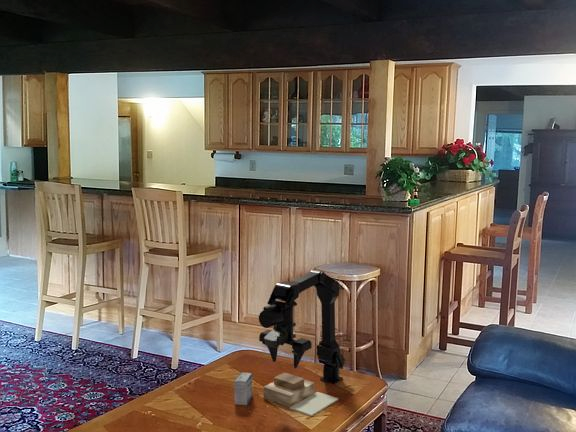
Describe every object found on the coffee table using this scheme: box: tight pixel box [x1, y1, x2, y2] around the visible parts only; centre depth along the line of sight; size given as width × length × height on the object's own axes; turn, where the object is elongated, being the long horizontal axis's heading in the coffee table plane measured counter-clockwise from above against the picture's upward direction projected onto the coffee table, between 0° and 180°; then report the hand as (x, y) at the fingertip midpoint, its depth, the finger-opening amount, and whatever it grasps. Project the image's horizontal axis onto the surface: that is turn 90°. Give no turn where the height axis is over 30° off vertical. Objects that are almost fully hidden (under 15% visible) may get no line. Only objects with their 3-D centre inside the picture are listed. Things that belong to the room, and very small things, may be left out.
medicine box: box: [233, 372, 253, 406], centre depth 210 cm, size 8×4×9 cm, turn 168°
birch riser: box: [263, 379, 315, 408], centre depth 214 cm, size 14×12×4 cm
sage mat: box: [289, 391, 339, 417], centre depth 208 cm, size 16×9×1 cm, turn 142°
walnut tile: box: [273, 371, 305, 391], centre depth 214 cm, size 9×6×2 cm, turn 52°
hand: (284, 364), depth 205 cm, fingers open, 9 cm apart
